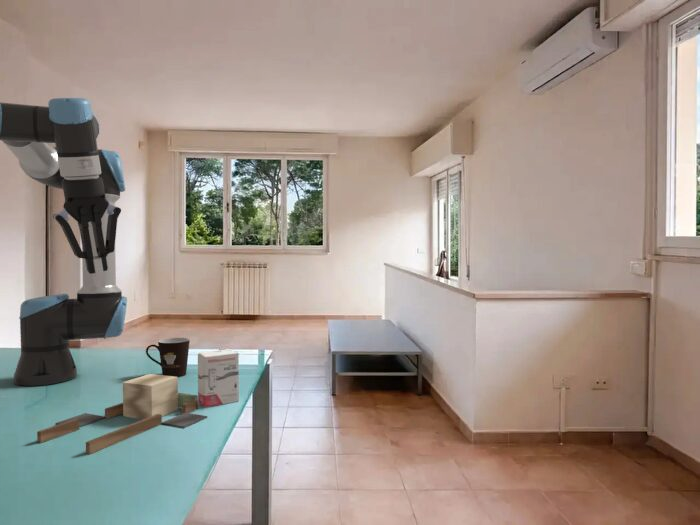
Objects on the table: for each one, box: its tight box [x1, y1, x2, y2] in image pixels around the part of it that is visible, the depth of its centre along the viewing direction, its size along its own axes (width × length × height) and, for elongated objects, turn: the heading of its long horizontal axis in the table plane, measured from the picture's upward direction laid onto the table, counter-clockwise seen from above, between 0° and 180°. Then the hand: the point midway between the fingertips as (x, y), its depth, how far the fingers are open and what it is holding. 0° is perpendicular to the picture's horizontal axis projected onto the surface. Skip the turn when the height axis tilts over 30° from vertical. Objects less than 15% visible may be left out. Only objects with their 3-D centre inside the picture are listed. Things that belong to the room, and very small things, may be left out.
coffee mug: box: [145, 337, 191, 378], centre depth 148 cm, size 12×9×10 cm
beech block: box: [122, 373, 179, 420], centre depth 113 cm, size 8×8×8 cm
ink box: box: [197, 348, 240, 408], centre depth 121 cm, size 9×5×12 cm, turn 124°
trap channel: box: [36, 392, 208, 455], centre depth 106 cm, size 26×28×3 cm
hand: (100, 286), depth 112 cm, fingers closed
